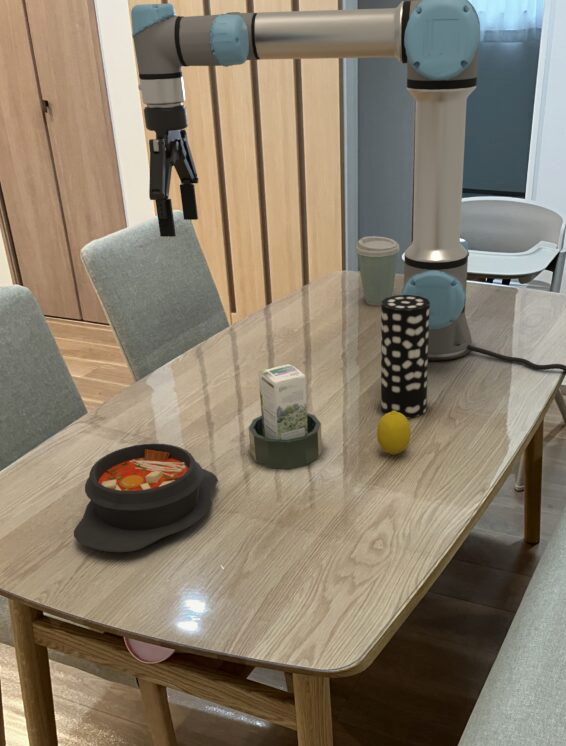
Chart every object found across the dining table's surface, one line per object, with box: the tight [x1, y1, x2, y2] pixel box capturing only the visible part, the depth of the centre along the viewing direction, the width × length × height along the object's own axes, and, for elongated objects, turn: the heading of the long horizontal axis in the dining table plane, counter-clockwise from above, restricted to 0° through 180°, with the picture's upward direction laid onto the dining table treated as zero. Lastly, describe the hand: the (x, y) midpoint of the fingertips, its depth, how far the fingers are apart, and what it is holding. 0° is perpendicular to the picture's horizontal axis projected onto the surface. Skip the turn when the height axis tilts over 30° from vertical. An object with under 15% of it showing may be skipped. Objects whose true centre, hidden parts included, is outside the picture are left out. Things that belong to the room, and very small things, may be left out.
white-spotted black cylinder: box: [380, 294, 430, 419], centre depth 147 cm, size 8×8×20 cm
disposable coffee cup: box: [355, 235, 400, 307], centre depth 201 cm, size 11×11×15 cm
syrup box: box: [258, 363, 308, 440], centre depth 135 cm, size 6×6×14 cm
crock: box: [248, 412, 323, 470], centre depth 138 cm, size 12×12×5 cm
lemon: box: [376, 411, 412, 456], centre depth 135 cm, size 6×6×8 cm
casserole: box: [73, 443, 219, 553], centre depth 121 cm, size 25×19×8 cm
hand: (180, 227), depth 159 cm, fingers open, 13 cm apart
